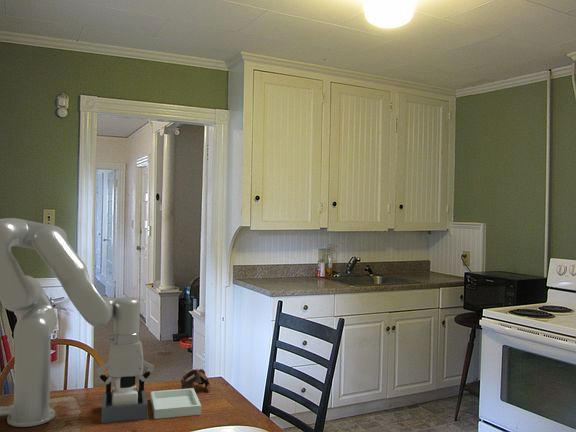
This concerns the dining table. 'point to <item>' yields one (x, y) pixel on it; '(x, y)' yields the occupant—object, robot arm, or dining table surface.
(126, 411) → the holder
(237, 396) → the dining table surface
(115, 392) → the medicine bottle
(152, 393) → the tray
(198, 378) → the broken pottery ring
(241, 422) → the dining table surface
